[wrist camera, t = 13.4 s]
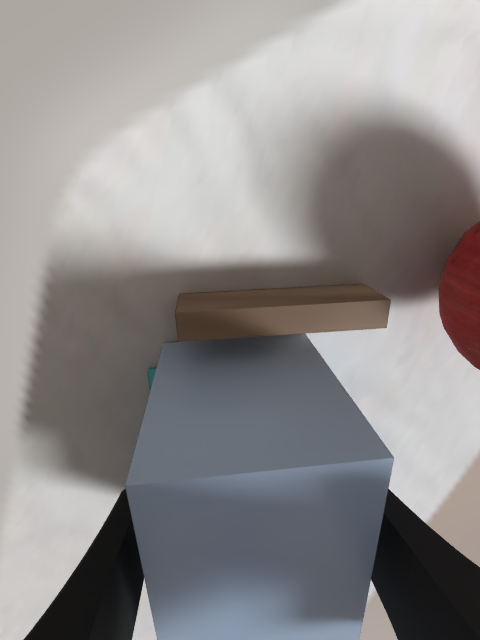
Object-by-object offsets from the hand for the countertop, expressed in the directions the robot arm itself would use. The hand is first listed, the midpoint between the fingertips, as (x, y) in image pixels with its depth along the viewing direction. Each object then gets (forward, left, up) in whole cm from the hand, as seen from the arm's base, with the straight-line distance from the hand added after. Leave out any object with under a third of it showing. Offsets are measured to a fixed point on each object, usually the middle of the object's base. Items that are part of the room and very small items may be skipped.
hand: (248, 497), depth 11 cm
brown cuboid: (+6, -2, -3) cm, 7 cm away
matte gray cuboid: (0, 0, -3) cm, 3 cm away
